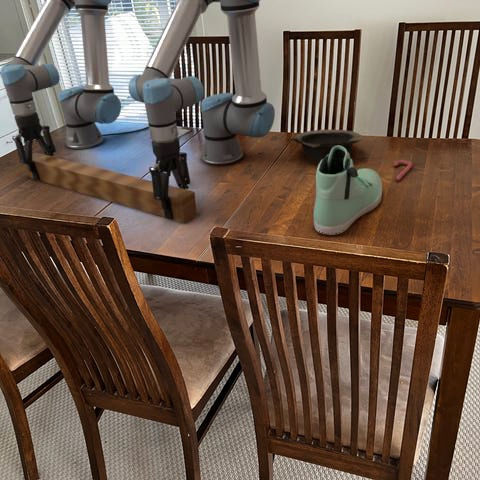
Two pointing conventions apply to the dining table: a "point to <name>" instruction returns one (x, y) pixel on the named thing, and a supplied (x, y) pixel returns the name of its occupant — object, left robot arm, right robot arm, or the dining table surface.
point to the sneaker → (343, 192)
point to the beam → (112, 186)
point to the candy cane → (404, 169)
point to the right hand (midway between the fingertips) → (176, 213)
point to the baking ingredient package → (181, 132)
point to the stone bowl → (325, 142)
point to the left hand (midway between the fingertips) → (44, 176)
